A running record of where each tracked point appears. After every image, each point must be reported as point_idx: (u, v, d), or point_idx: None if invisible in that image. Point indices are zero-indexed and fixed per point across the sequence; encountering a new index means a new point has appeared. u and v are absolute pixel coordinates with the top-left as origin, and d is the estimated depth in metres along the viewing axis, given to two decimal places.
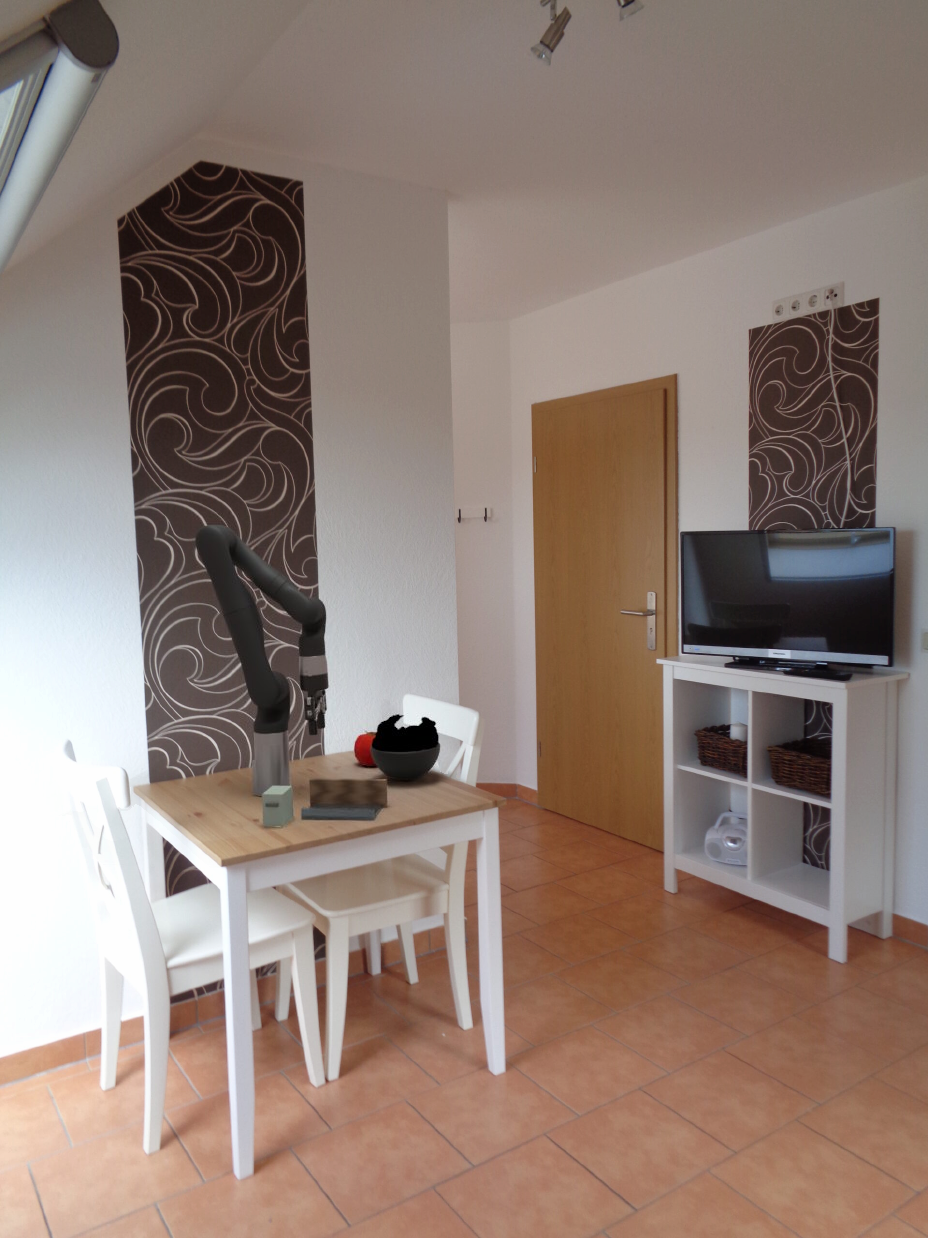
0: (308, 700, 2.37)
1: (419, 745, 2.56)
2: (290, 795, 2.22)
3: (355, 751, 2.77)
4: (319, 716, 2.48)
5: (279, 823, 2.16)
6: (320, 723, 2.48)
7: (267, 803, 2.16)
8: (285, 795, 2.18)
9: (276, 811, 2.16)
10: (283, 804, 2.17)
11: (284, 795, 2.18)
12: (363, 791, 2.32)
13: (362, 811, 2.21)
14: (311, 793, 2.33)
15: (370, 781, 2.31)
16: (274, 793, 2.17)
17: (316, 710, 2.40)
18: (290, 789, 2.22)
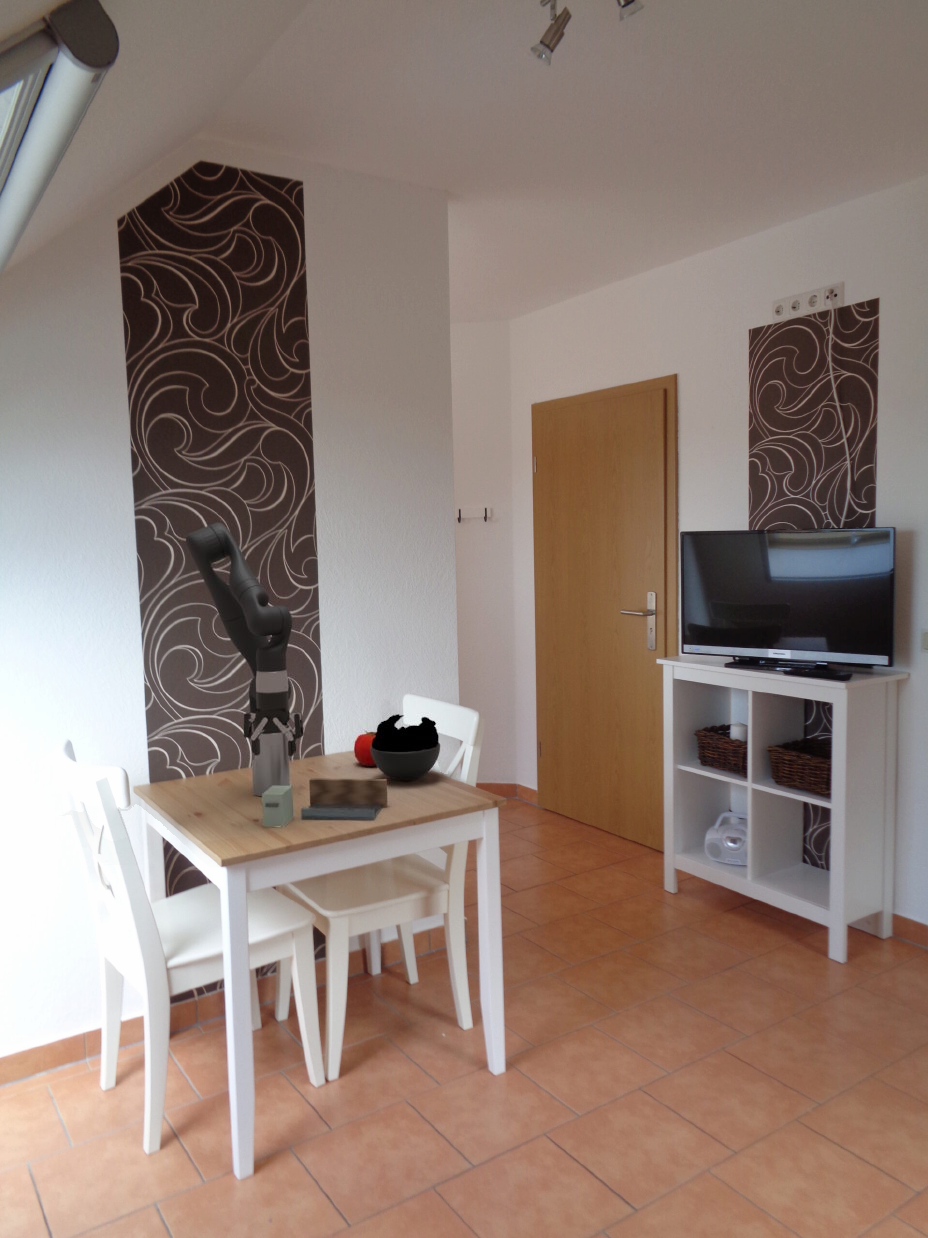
0: (300, 716, 2.18)
1: (419, 745, 2.56)
2: (290, 795, 2.22)
3: (355, 751, 2.77)
4: (257, 741, 2.20)
5: (279, 823, 2.16)
6: (258, 749, 2.20)
7: (267, 803, 2.16)
8: (285, 795, 2.18)
9: (276, 811, 2.16)
10: (283, 804, 2.17)
11: (284, 795, 2.18)
12: (363, 791, 2.32)
13: (362, 811, 2.21)
14: (311, 793, 2.33)
15: (370, 781, 2.31)
16: (274, 793, 2.17)
17: (290, 728, 2.20)
18: (290, 789, 2.22)
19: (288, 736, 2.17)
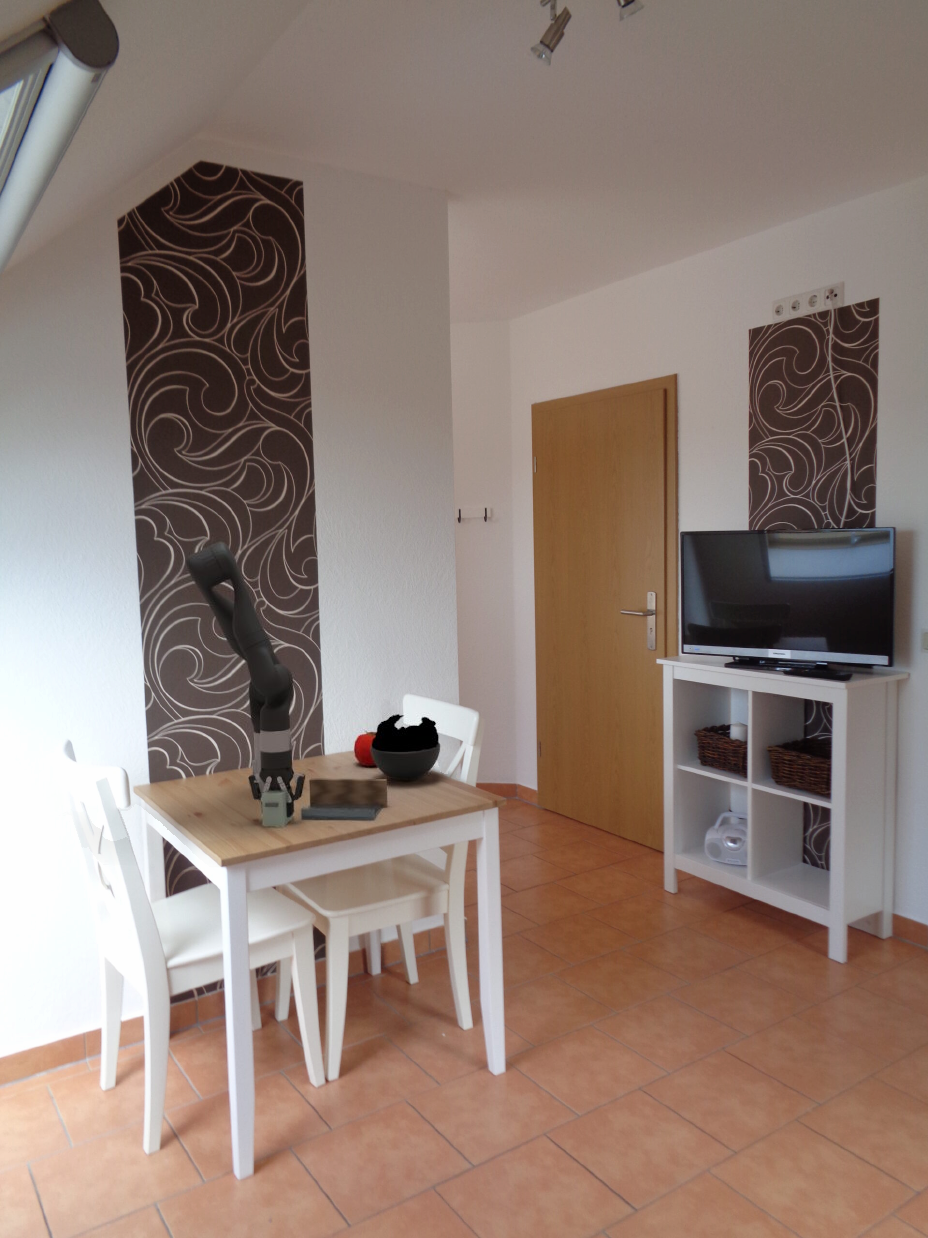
0: (303, 779, 2.19)
1: (419, 745, 2.56)
2: None
3: (355, 751, 2.77)
4: None
5: (279, 823, 2.16)
6: None
7: (267, 803, 2.16)
8: (285, 795, 2.18)
9: (276, 811, 2.16)
10: (283, 804, 2.17)
11: (284, 795, 2.18)
12: (363, 791, 2.32)
13: (362, 811, 2.21)
14: (311, 793, 2.33)
15: (370, 781, 2.31)
16: (274, 793, 2.17)
17: (291, 788, 2.21)
18: None
19: (287, 797, 2.19)
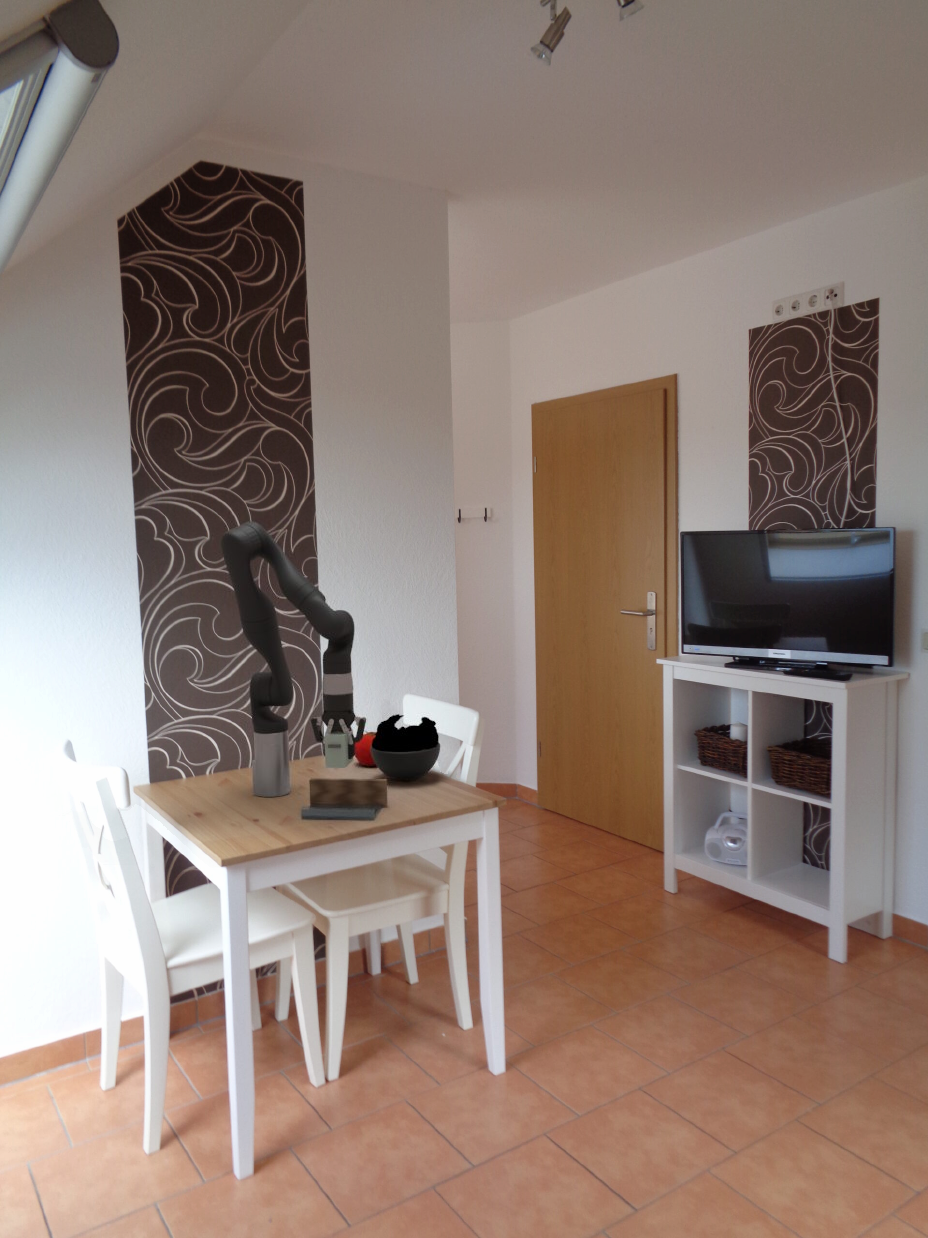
0: (364, 721, 2.24)
1: (419, 745, 2.56)
2: None
3: (355, 751, 2.77)
4: None
5: (341, 764, 2.21)
6: None
7: (329, 744, 2.21)
8: (346, 737, 2.23)
9: (338, 752, 2.21)
10: (345, 746, 2.22)
11: (346, 737, 2.23)
12: (363, 791, 2.32)
13: (362, 811, 2.21)
14: (311, 793, 2.33)
15: (370, 781, 2.31)
16: (336, 734, 2.22)
17: (352, 731, 2.26)
18: None
19: (348, 739, 2.24)
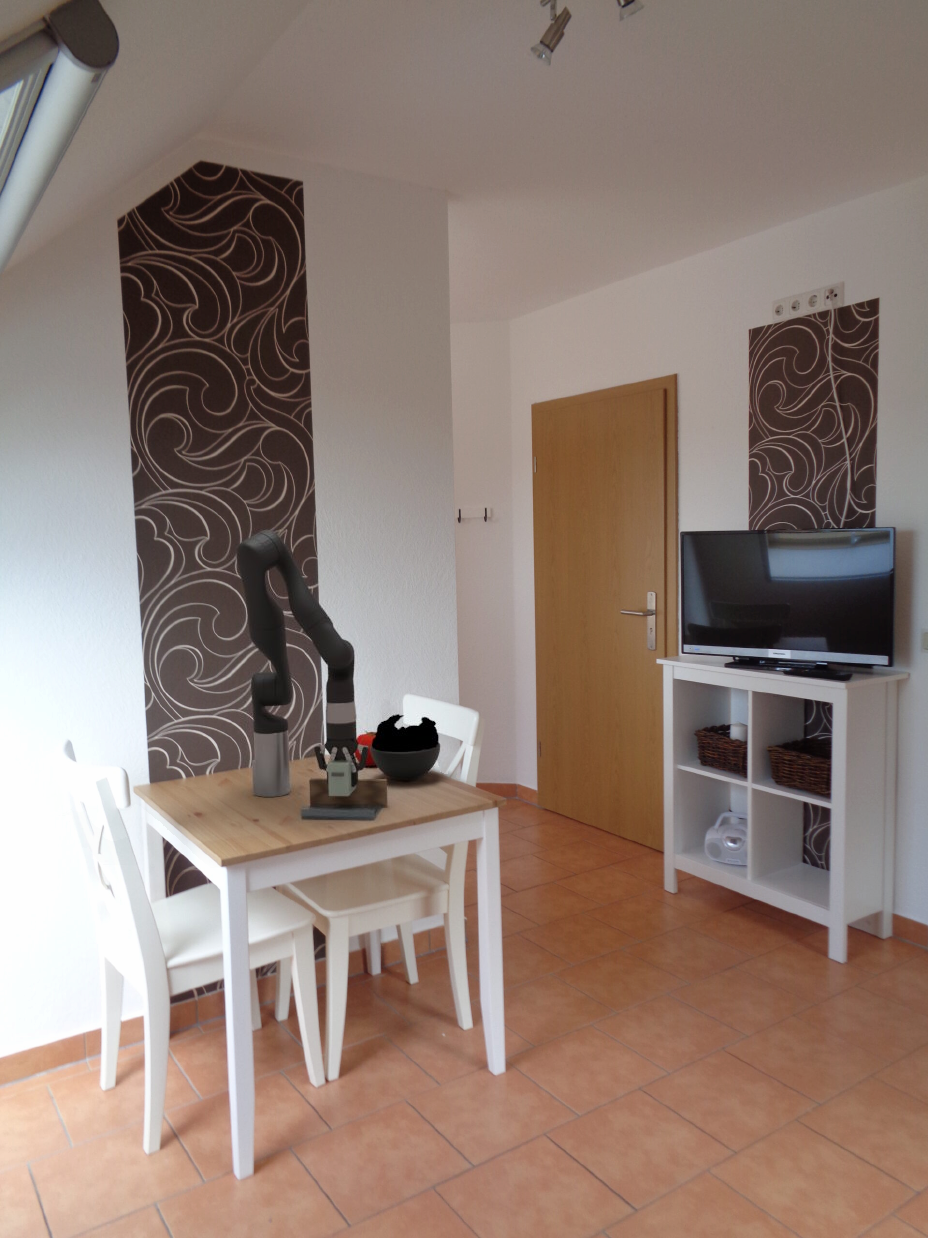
0: (367, 749, 2.26)
1: (419, 745, 2.56)
2: None
3: (355, 751, 2.77)
4: None
5: (344, 792, 2.24)
6: None
7: (333, 772, 2.23)
8: (350, 765, 2.25)
9: (342, 780, 2.23)
10: (349, 774, 2.24)
11: (349, 765, 2.25)
12: (363, 791, 2.32)
13: (362, 811, 2.21)
14: (311, 793, 2.33)
15: (370, 781, 2.31)
16: (339, 763, 2.24)
17: (355, 759, 2.28)
18: None
19: (352, 767, 2.26)
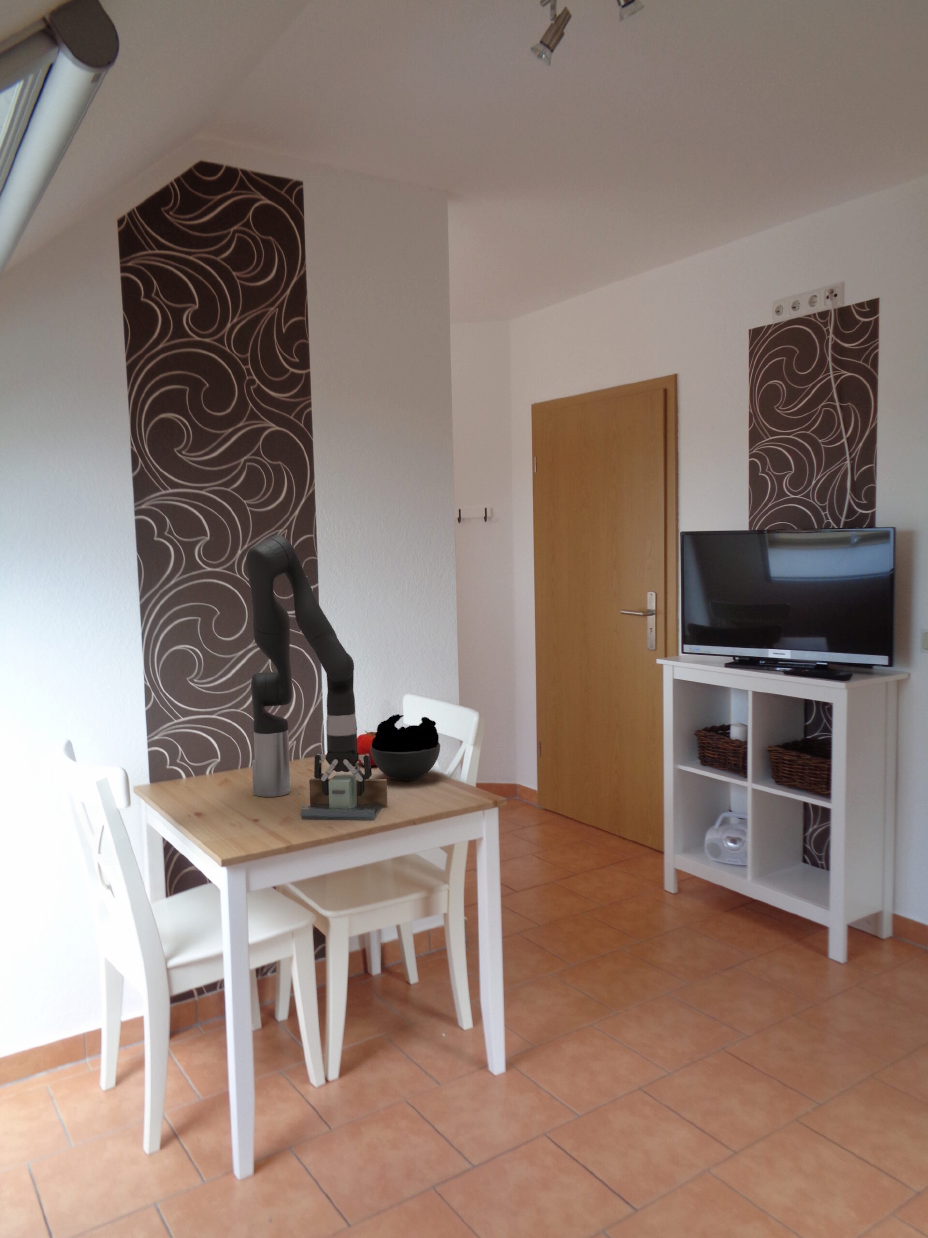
0: (369, 757, 2.26)
1: (419, 745, 2.56)
2: (354, 782, 2.30)
3: None
4: (327, 781, 2.28)
5: None
6: (328, 789, 2.28)
7: (334, 790, 2.23)
8: (350, 782, 2.26)
9: (342, 798, 2.24)
10: (349, 791, 2.24)
11: (350, 782, 2.25)
12: None
13: (362, 811, 2.21)
14: (311, 793, 2.33)
15: (370, 781, 2.31)
16: (340, 780, 2.24)
17: (359, 768, 2.28)
18: (354, 777, 2.30)
19: (357, 777, 2.26)
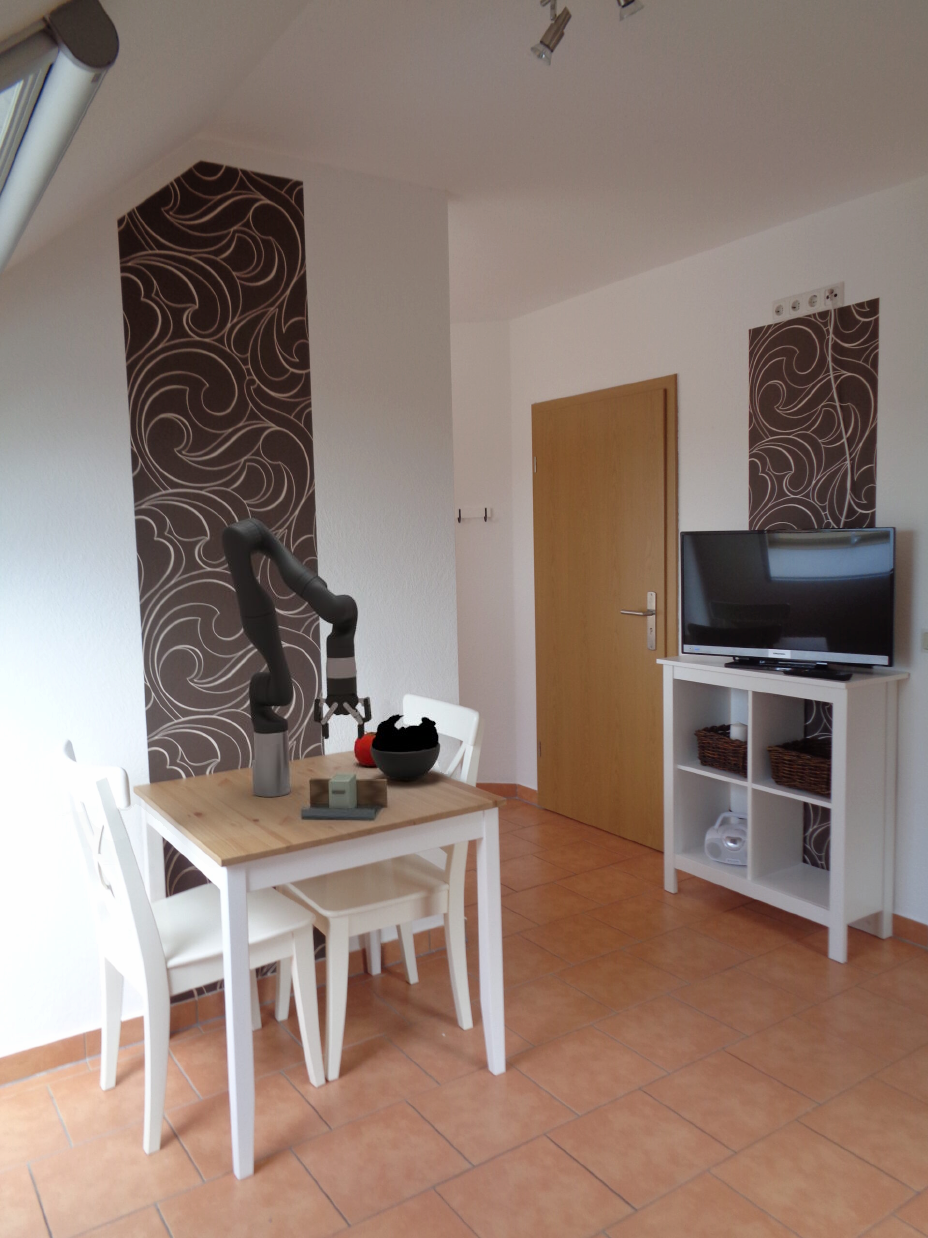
0: (368, 700, 2.26)
1: (419, 745, 2.56)
2: (354, 782, 2.30)
3: (355, 751, 2.77)
4: (327, 725, 2.28)
5: None
6: (327, 733, 2.28)
7: (334, 790, 2.23)
8: (350, 782, 2.26)
9: (342, 798, 2.24)
10: (349, 791, 2.24)
11: (350, 782, 2.25)
12: (363, 791, 2.32)
13: (362, 811, 2.21)
14: (311, 793, 2.33)
15: (370, 781, 2.31)
16: (340, 780, 2.24)
17: (359, 712, 2.28)
18: (354, 777, 2.30)
19: (358, 720, 2.26)
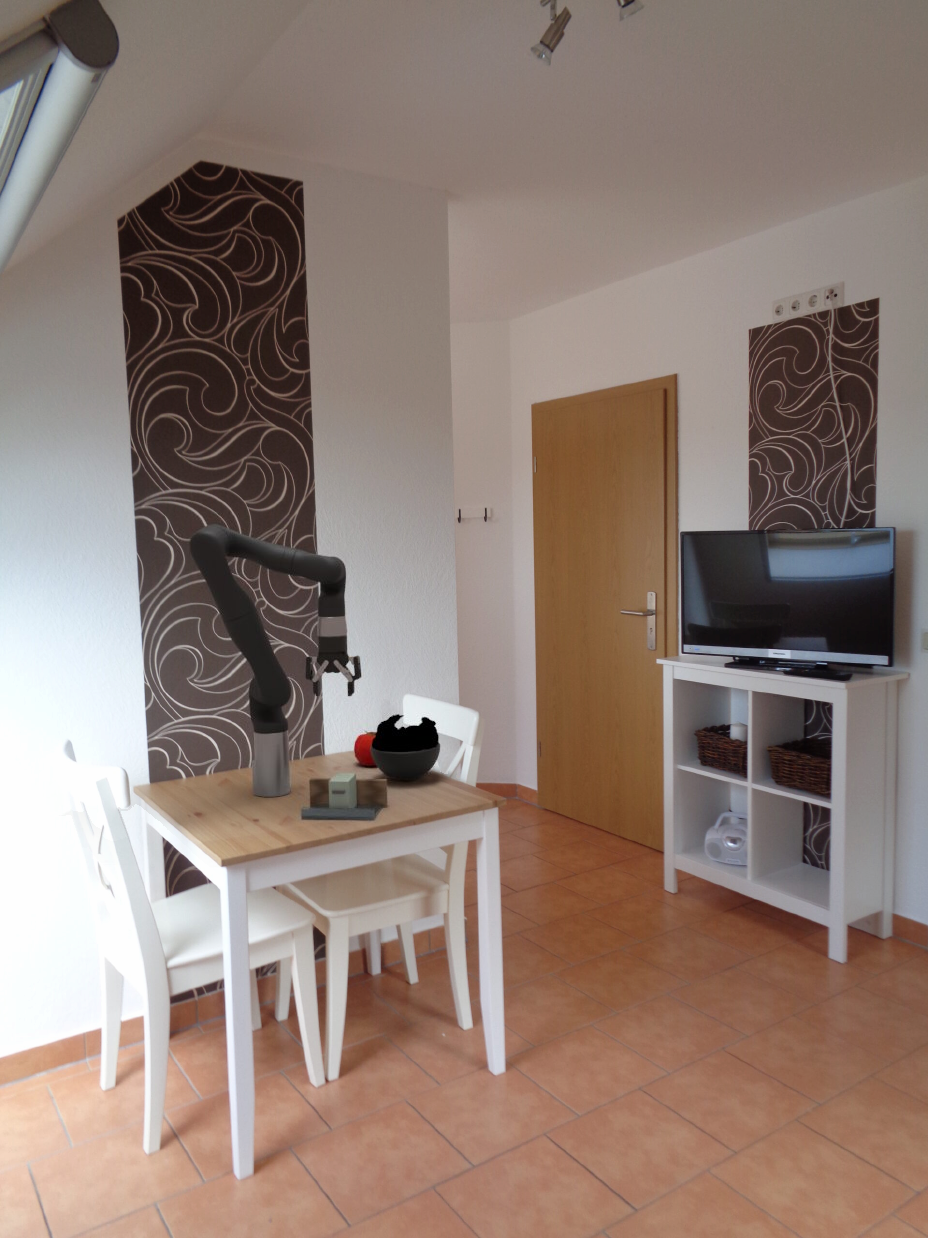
0: (358, 658, 2.34)
1: (419, 745, 2.56)
2: (354, 782, 2.30)
3: (355, 751, 2.77)
4: (318, 682, 2.35)
5: None
6: (319, 690, 2.36)
7: (334, 790, 2.23)
8: (350, 782, 2.26)
9: (342, 798, 2.24)
10: (349, 791, 2.24)
11: (350, 782, 2.25)
12: (363, 791, 2.32)
13: (362, 811, 2.21)
14: (311, 793, 2.33)
15: (370, 781, 2.31)
16: (340, 780, 2.24)
17: (349, 670, 2.36)
18: (354, 777, 2.30)
19: (348, 677, 2.33)
